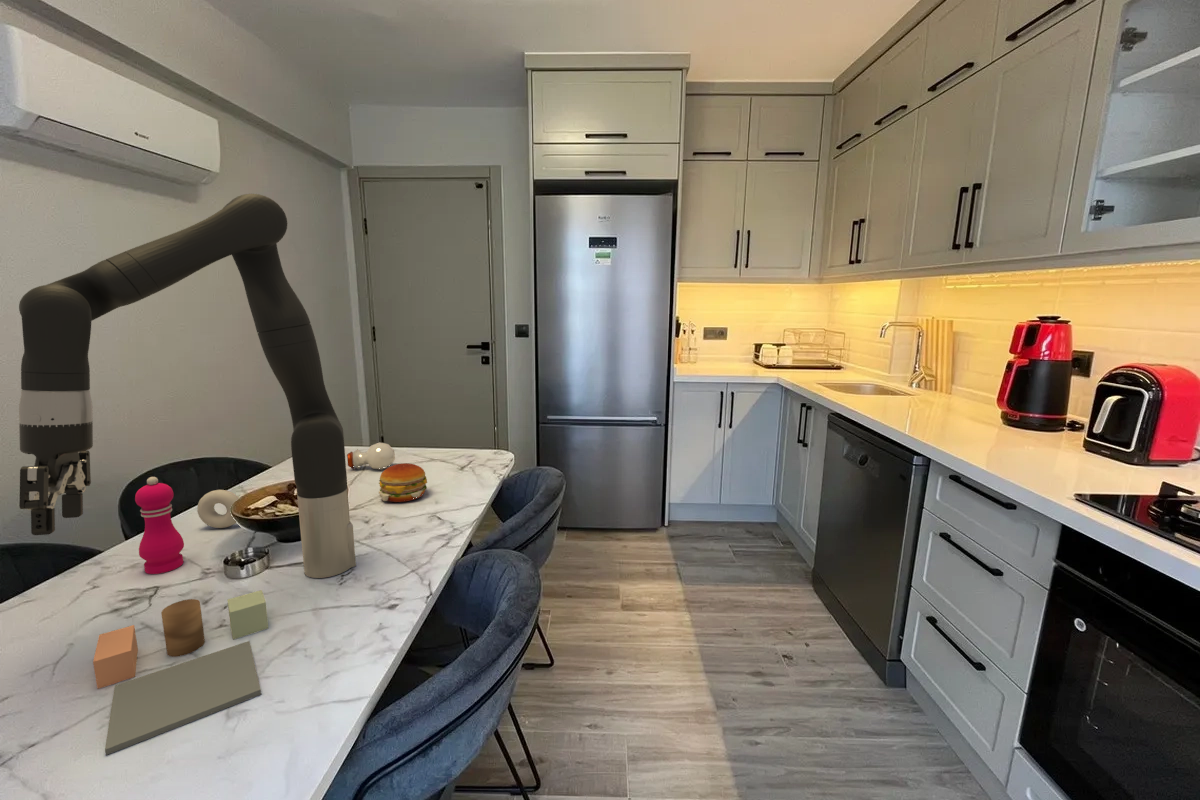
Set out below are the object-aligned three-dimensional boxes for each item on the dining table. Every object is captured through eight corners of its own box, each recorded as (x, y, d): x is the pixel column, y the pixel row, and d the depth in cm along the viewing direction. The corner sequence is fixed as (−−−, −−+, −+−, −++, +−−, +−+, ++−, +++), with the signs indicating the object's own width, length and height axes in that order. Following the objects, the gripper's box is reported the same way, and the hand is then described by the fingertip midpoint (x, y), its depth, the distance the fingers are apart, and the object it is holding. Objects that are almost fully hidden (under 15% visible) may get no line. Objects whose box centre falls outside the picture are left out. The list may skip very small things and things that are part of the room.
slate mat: (249, 645, 83) (249, 640, 82) (261, 694, 72) (260, 689, 72) (115, 690, 72) (114, 685, 72) (105, 755, 62) (104, 749, 62)
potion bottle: (396, 473, 176) (353, 479, 175) (400, 451, 183) (358, 457, 182) (388, 457, 170) (342, 463, 168) (392, 435, 176) (348, 440, 175)
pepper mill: (160, 577, 103) (147, 483, 100) (132, 573, 105) (118, 481, 101) (195, 560, 110) (183, 473, 107) (168, 557, 112) (156, 470, 108)
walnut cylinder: (204, 633, 85) (199, 595, 84) (205, 648, 82) (200, 608, 81) (167, 645, 82) (161, 606, 81) (166, 660, 79) (160, 619, 78)
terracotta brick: (103, 660, 79) (99, 634, 78) (138, 650, 81) (134, 624, 81) (97, 689, 73) (93, 661, 72) (135, 677, 75) (131, 650, 75)
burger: (437, 495, 152) (435, 463, 150) (398, 509, 141) (396, 474, 139) (408, 486, 159) (406, 456, 157) (369, 499, 148) (366, 466, 146)
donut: (196, 531, 125) (191, 493, 123) (205, 525, 128) (200, 488, 126) (240, 529, 126) (236, 491, 125) (248, 524, 130) (243, 486, 128)
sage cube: (264, 615, 91) (261, 589, 90) (268, 628, 87) (265, 602, 86) (230, 625, 88) (227, 599, 87) (233, 640, 84) (229, 612, 83)
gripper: (67, 426, 71) (68, 538, 72) (110, 414, 84) (111, 510, 85) (-9, 426, 68) (-6, 543, 69) (48, 414, 81) (50, 513, 82)
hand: (58, 525), depth 77 cm, fingers open, 8 cm apart
